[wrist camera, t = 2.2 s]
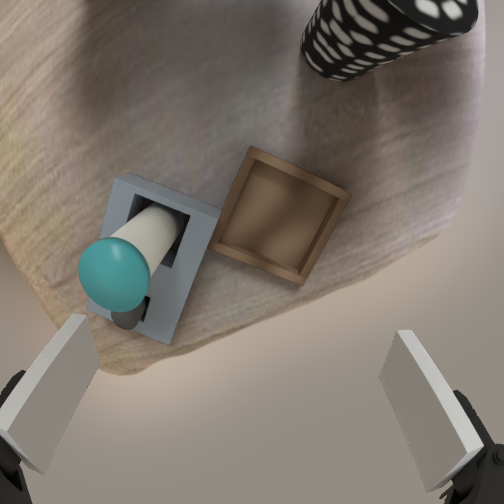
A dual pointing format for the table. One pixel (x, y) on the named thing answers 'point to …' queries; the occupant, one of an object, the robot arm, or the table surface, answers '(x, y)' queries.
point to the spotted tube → (378, 32)
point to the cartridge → (129, 258)
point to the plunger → (130, 316)
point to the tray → (277, 216)
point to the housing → (172, 265)
